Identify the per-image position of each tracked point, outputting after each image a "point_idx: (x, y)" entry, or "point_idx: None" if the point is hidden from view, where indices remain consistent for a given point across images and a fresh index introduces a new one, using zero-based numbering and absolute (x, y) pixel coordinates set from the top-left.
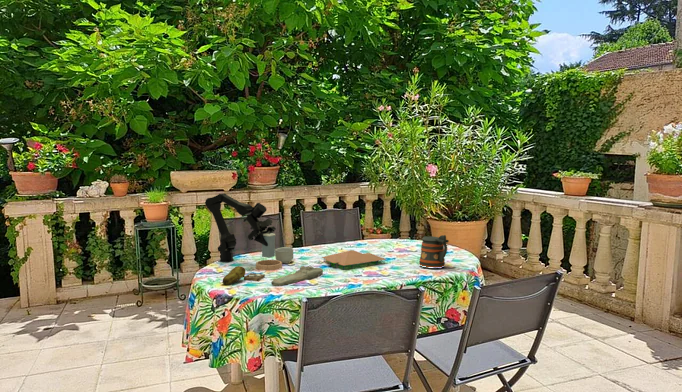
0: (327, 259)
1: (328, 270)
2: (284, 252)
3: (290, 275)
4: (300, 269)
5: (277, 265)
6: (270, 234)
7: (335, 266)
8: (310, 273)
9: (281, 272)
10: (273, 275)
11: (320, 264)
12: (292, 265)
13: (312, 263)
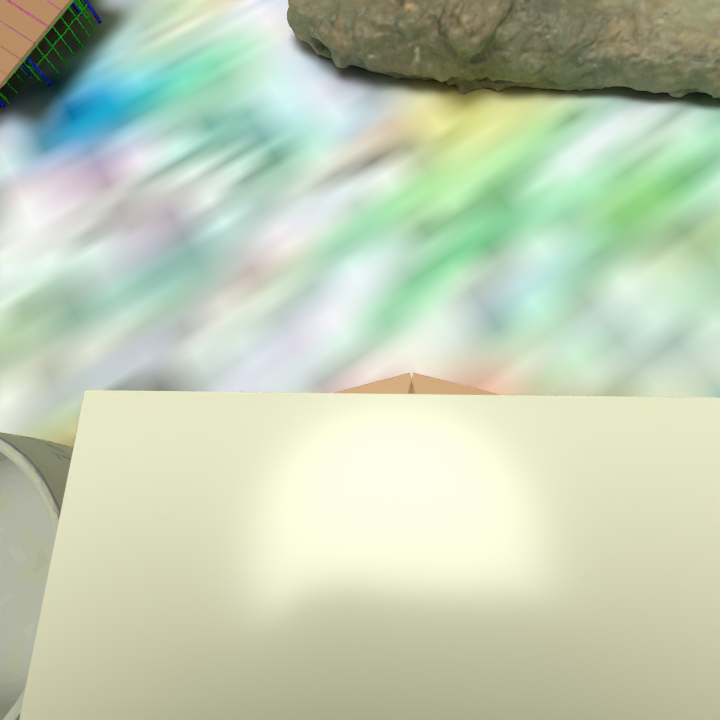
0: (2, 54)
1: (193, 23)
2: (58, 489)
3: (698, 30)
4: (528, 7)
5: (444, 383)
6: (514, 550)
7: (91, 7)
8: None
9: (492, 304)
10: (650, 300)
11: (22, 179)
12: (167, 382)
13: (10, 259)
